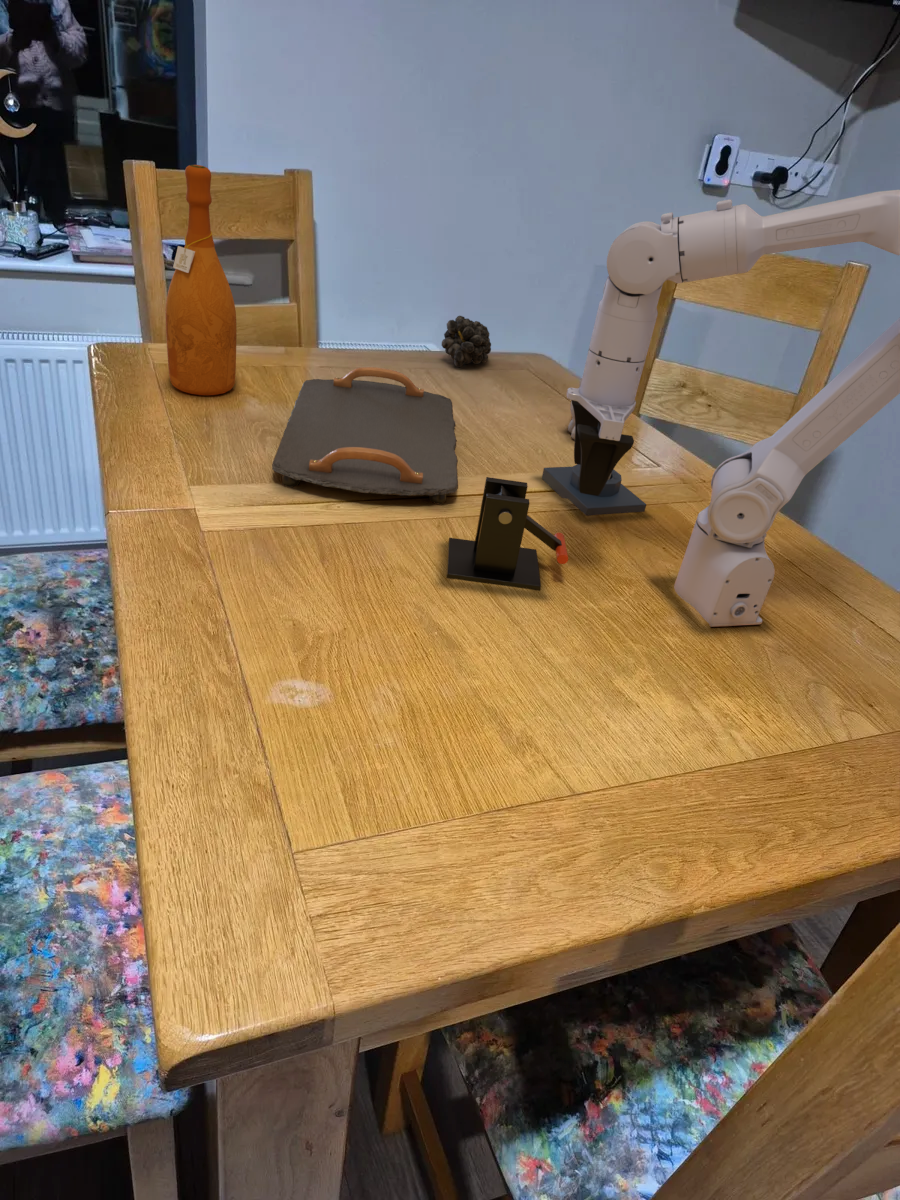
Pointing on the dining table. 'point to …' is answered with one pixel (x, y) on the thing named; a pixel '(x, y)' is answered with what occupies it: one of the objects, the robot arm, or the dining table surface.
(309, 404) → the serving tray
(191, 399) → the dining table surface
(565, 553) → the switch lever
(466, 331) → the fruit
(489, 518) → the mini lever press
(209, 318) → the wine bottle
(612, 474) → the base unit
